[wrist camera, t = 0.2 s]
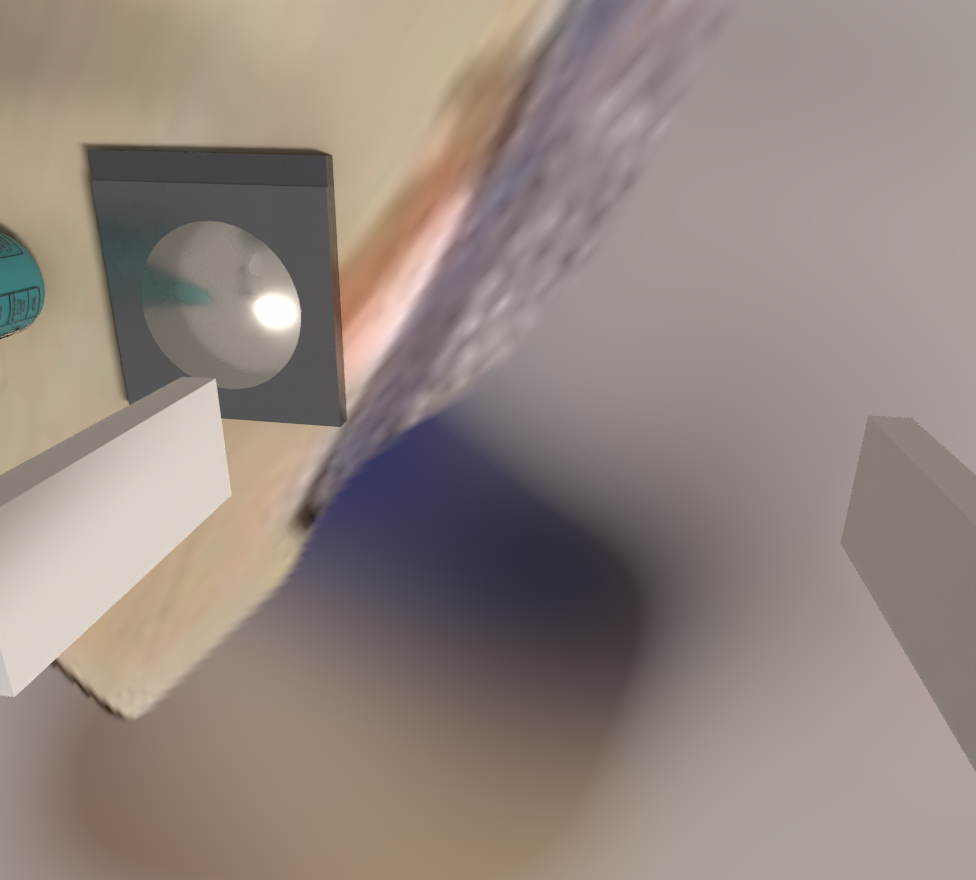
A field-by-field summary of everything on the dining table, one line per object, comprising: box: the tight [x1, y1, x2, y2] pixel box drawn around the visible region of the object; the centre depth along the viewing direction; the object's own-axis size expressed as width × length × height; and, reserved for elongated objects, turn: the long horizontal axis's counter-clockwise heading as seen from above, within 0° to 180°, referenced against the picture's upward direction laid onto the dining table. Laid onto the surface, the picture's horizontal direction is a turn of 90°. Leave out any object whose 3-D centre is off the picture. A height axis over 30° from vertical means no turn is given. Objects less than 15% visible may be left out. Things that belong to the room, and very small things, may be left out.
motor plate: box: [88, 150, 347, 427], centre depth 44 cm, size 16×14×1 cm
